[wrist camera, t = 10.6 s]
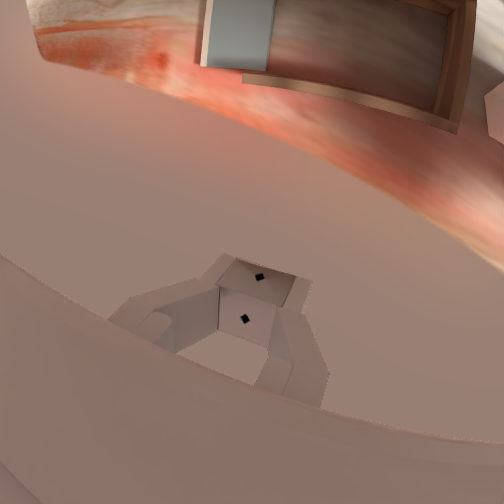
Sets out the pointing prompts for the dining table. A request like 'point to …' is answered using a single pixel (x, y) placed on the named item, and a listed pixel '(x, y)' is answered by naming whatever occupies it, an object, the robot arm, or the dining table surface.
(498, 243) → the dining table surface
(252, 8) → the panel
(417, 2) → the crate
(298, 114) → the dining table surface
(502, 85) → the jar
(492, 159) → the dining table surface
